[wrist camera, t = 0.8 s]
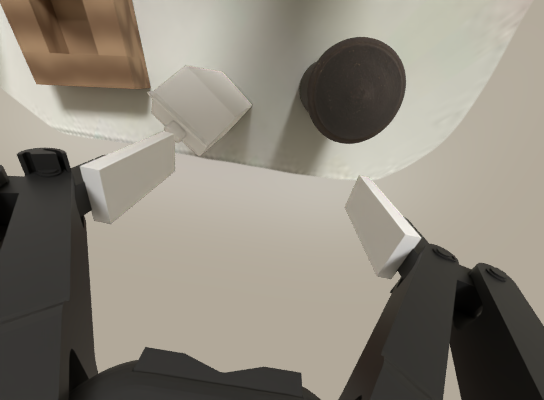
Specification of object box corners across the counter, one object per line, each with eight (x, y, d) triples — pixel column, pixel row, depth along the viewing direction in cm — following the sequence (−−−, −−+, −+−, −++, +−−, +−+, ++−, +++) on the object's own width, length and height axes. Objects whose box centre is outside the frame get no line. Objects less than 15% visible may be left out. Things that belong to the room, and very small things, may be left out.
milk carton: (222, 71, 35) (167, 61, 19) (252, 105, 38) (227, 123, 21) (197, 102, 38) (129, 118, 21) (226, 132, 40) (186, 168, 24)
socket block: (11, -46, 30) (-31, -66, 26) (122, -43, 29) (97, -62, 25) (62, 84, 38) (36, 84, 34) (150, 88, 37) (134, 88, 33)
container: (309, 125, 39) (328, 161, 21) (288, 75, 35) (292, 68, 18) (355, 102, 37) (420, 121, 19) (339, 46, 33) (401, 5, 15)
